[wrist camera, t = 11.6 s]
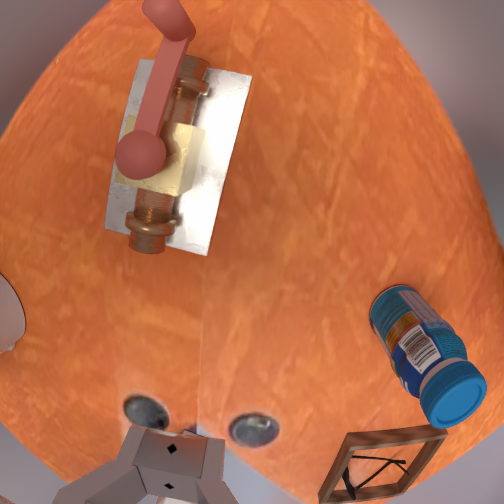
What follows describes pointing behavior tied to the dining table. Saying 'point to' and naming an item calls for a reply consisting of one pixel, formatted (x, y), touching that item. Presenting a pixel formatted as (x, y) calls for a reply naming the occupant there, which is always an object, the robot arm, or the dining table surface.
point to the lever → (156, 92)
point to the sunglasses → (352, 490)
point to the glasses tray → (434, 436)
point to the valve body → (180, 160)
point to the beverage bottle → (427, 356)
